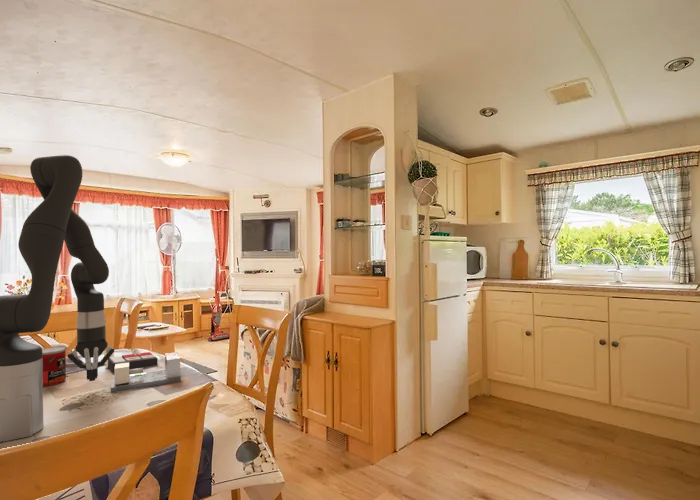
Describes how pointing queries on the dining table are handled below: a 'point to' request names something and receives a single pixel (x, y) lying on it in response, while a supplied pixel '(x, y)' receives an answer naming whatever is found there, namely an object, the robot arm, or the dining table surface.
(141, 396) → the dining table surface
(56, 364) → the canned food
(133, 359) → the calculator
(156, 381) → the gauge base
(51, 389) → the dining table surface
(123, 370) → the block
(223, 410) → the dining table surface
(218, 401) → the dining table surface
